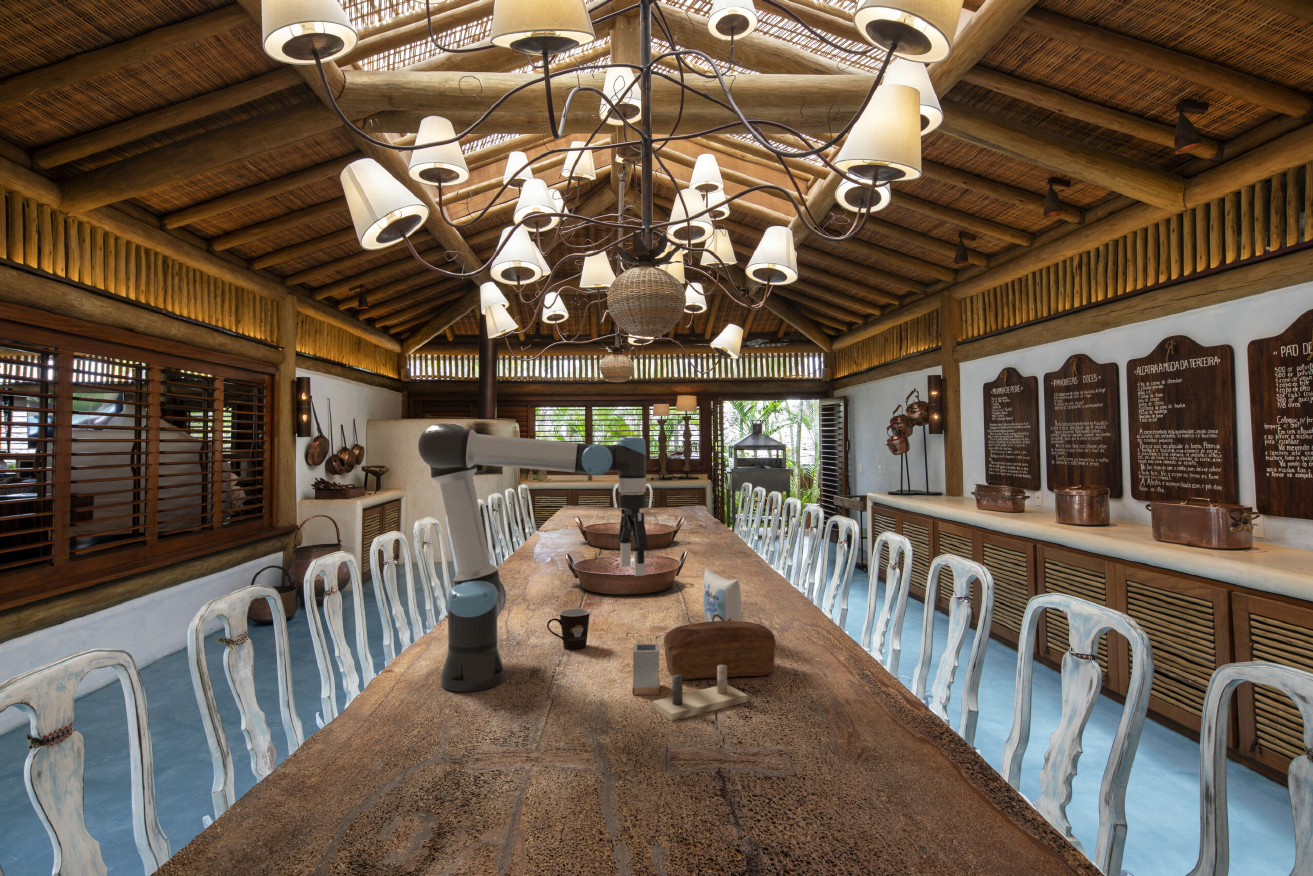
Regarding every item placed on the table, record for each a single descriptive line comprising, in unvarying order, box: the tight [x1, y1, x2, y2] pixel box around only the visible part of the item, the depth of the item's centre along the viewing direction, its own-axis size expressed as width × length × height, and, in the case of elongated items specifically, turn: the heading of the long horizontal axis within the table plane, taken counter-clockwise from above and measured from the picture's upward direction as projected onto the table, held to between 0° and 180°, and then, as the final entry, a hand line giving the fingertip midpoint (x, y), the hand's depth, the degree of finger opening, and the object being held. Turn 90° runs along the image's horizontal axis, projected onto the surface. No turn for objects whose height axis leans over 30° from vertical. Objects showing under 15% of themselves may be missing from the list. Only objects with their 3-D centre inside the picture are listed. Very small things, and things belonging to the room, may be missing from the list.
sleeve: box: [631, 643, 661, 696], centre depth 155 cm, size 6×6×10 cm
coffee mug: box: [546, 608, 591, 652], centre depth 188 cm, size 12×9×10 cm
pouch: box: [703, 567, 743, 622], centre depth 193 cm, size 8×19×20 cm, turn 20°
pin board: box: [652, 665, 748, 722], centre depth 146 cm, size 20×8×8 cm, turn 120°
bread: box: [663, 620, 776, 681], centre depth 167 cm, size 14×28×12 cm, turn 97°
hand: (632, 570), depth 179 cm, fingers open, 13 cm apart
